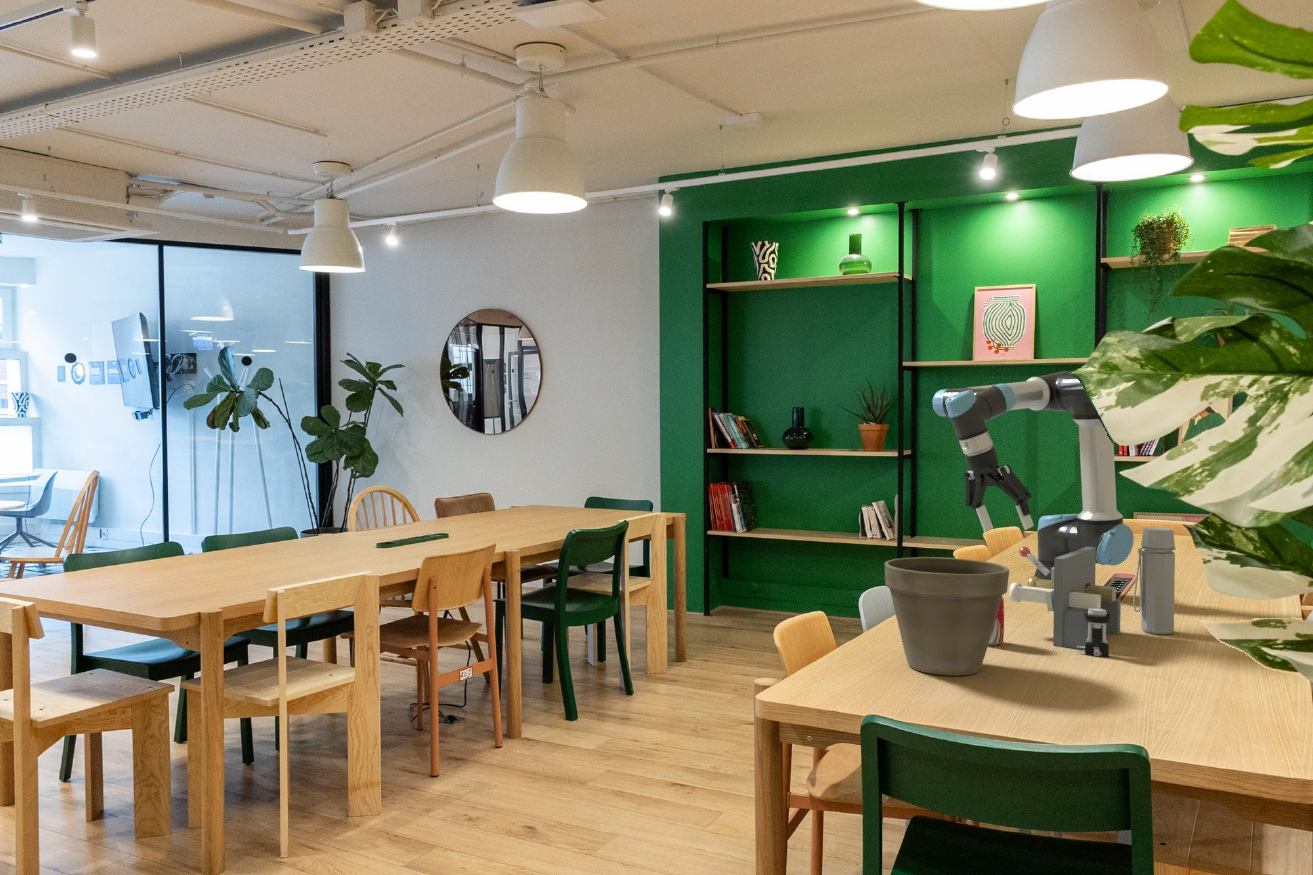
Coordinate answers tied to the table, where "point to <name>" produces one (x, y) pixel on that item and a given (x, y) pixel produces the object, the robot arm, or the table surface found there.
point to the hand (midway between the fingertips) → (1008, 529)
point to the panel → (1073, 577)
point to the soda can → (998, 627)
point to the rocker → (1050, 600)
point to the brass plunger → (1104, 591)
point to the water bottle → (1157, 580)
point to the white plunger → (1038, 594)
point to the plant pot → (945, 610)
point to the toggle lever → (1033, 560)
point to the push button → (1096, 632)
